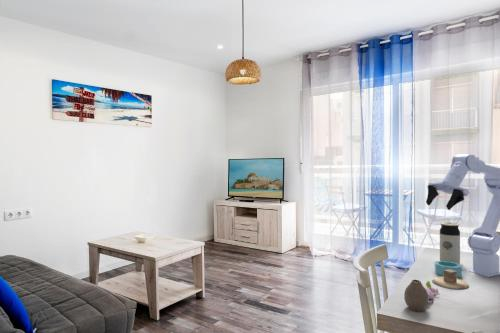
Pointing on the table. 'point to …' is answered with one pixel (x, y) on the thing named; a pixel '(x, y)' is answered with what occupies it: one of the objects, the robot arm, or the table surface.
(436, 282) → the lid
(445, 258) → the travel mug
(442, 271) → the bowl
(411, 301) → the vase
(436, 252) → the table surface
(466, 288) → the mat
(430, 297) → the rabbit figure
